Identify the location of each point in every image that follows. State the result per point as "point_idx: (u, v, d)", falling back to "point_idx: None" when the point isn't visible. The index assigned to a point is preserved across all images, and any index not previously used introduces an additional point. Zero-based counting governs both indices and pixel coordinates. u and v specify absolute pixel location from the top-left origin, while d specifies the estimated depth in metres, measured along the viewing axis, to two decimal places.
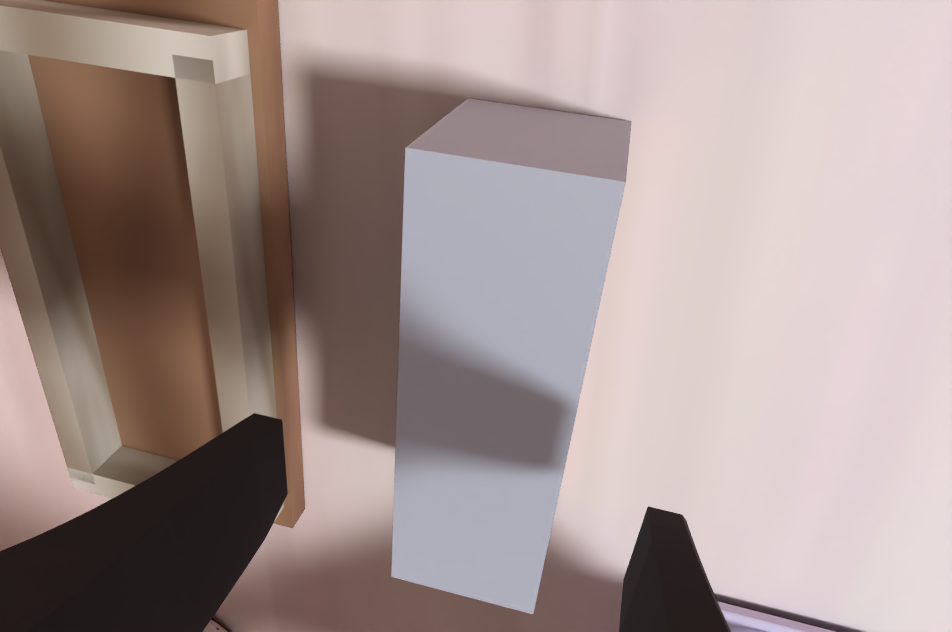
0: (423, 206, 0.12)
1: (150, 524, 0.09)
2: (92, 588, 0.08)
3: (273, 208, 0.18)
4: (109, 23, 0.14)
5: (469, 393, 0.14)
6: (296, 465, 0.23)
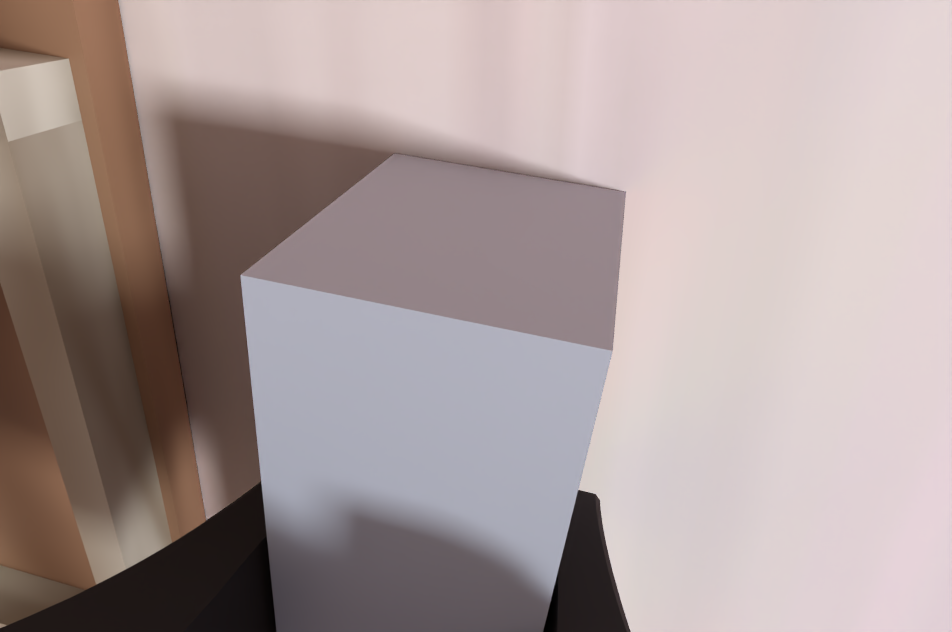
0: (280, 364, 0.07)
1: (246, 550, 0.09)
2: (200, 619, 0.08)
3: (138, 296, 0.13)
4: None
5: (377, 614, 0.09)
6: None
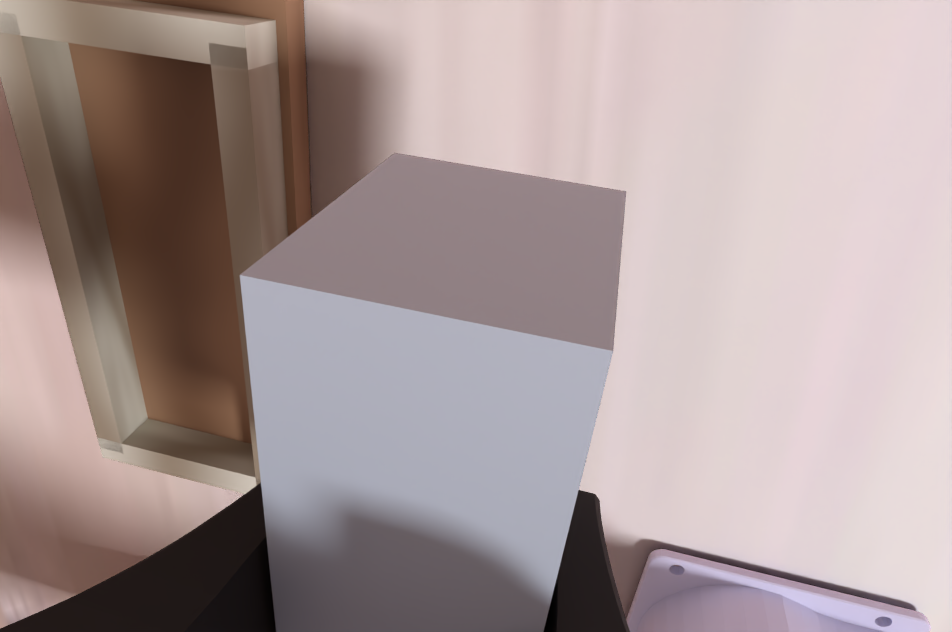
0: (279, 364, 0.07)
1: (246, 550, 0.09)
2: (201, 620, 0.08)
3: (296, 188, 0.19)
4: (150, 14, 0.16)
5: (377, 615, 0.09)
6: None
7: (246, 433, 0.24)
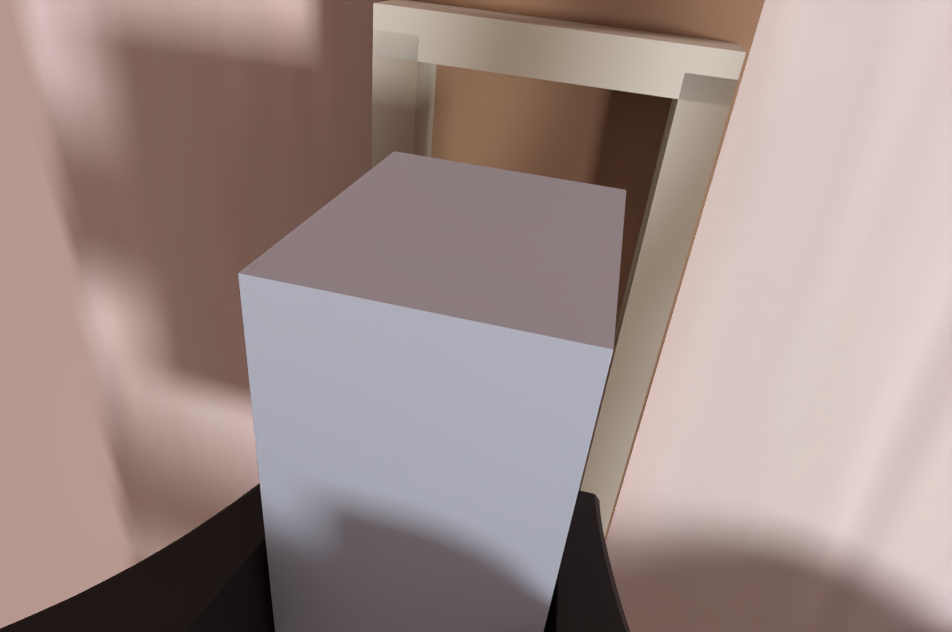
0: (278, 363, 0.07)
1: (247, 550, 0.09)
2: (201, 620, 0.08)
3: (690, 240, 0.16)
4: (612, 37, 0.12)
5: (376, 615, 0.09)
6: None
7: None
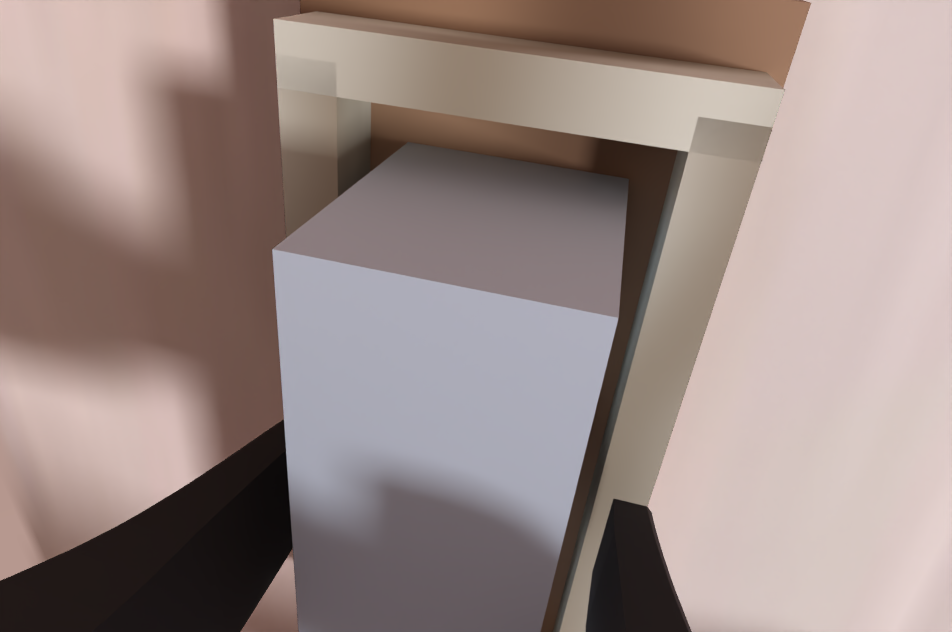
0: (307, 334, 0.08)
1: (188, 534, 0.09)
2: (134, 600, 0.08)
3: None
4: (598, 67, 0.09)
5: (393, 577, 0.10)
6: None
7: None
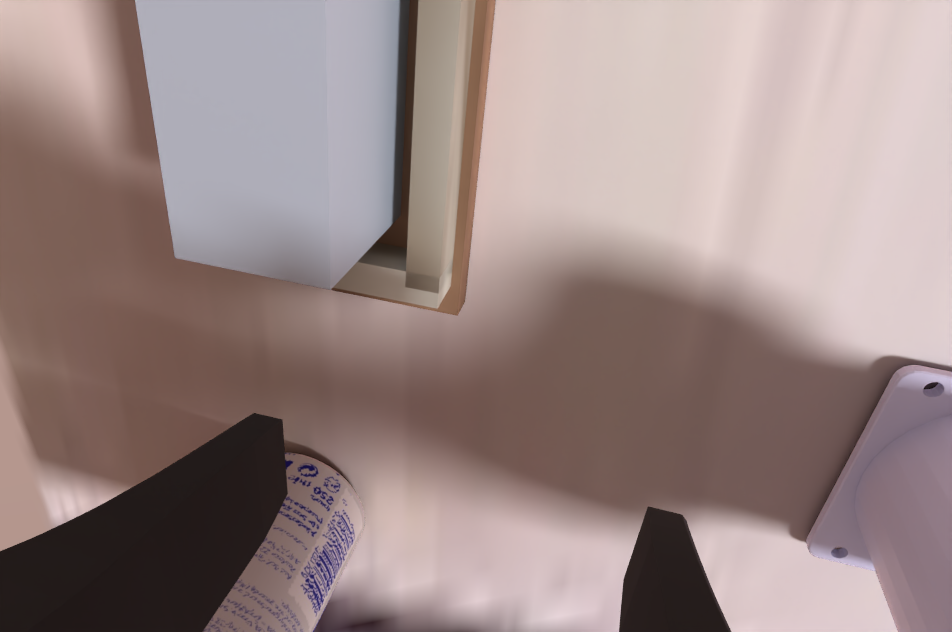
0: None
1: (150, 524, 0.09)
2: (92, 588, 0.08)
3: None
4: None
5: None
6: (469, 232, 0.19)
7: None
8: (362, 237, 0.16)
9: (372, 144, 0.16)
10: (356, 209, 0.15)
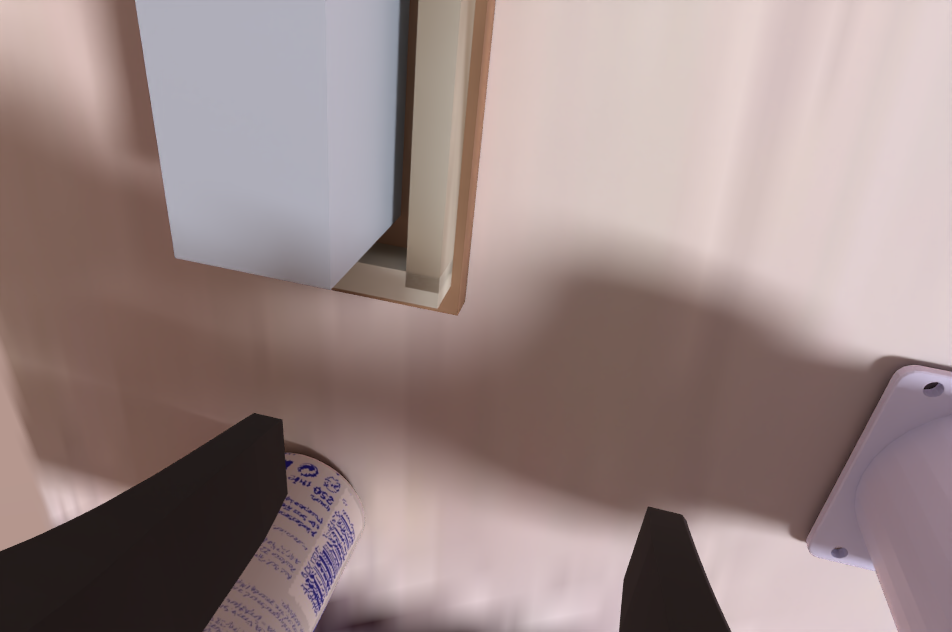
0: None
1: (150, 524, 0.09)
2: (92, 588, 0.08)
3: None
4: None
5: None
6: (469, 232, 0.19)
7: None
8: (362, 237, 0.16)
9: (373, 144, 0.16)
10: (356, 209, 0.15)
